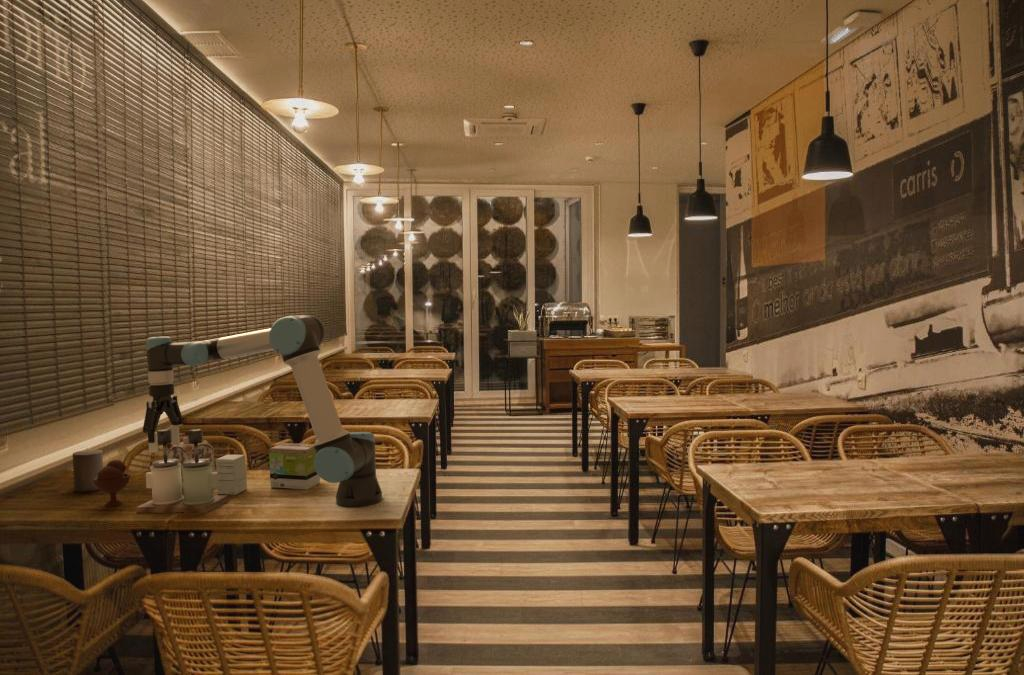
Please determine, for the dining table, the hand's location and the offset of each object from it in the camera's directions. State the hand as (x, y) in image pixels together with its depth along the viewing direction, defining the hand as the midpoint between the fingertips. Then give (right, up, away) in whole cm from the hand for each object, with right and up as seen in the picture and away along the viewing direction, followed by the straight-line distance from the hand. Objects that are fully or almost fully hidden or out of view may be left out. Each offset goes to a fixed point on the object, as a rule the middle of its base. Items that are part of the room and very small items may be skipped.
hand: (164, 448), depth 242 cm
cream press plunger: (0, -5, 0) cm, 5 cm away
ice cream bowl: (-20, -20, +5) cm, 29 cm away
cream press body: (0, -18, +1) cm, 18 cm away
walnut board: (+6, -19, 0) cm, 20 cm away
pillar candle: (-41, -19, +28) cm, 53 cm away
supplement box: (+16, -18, +18) cm, 30 cm away
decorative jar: (-3, -18, +29) cm, 34 cm away
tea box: (+36, -17, +24) cm, 47 cm away
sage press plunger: (+11, -5, -1) cm, 12 cm away
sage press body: (+11, -17, 0) cm, 21 cm away
